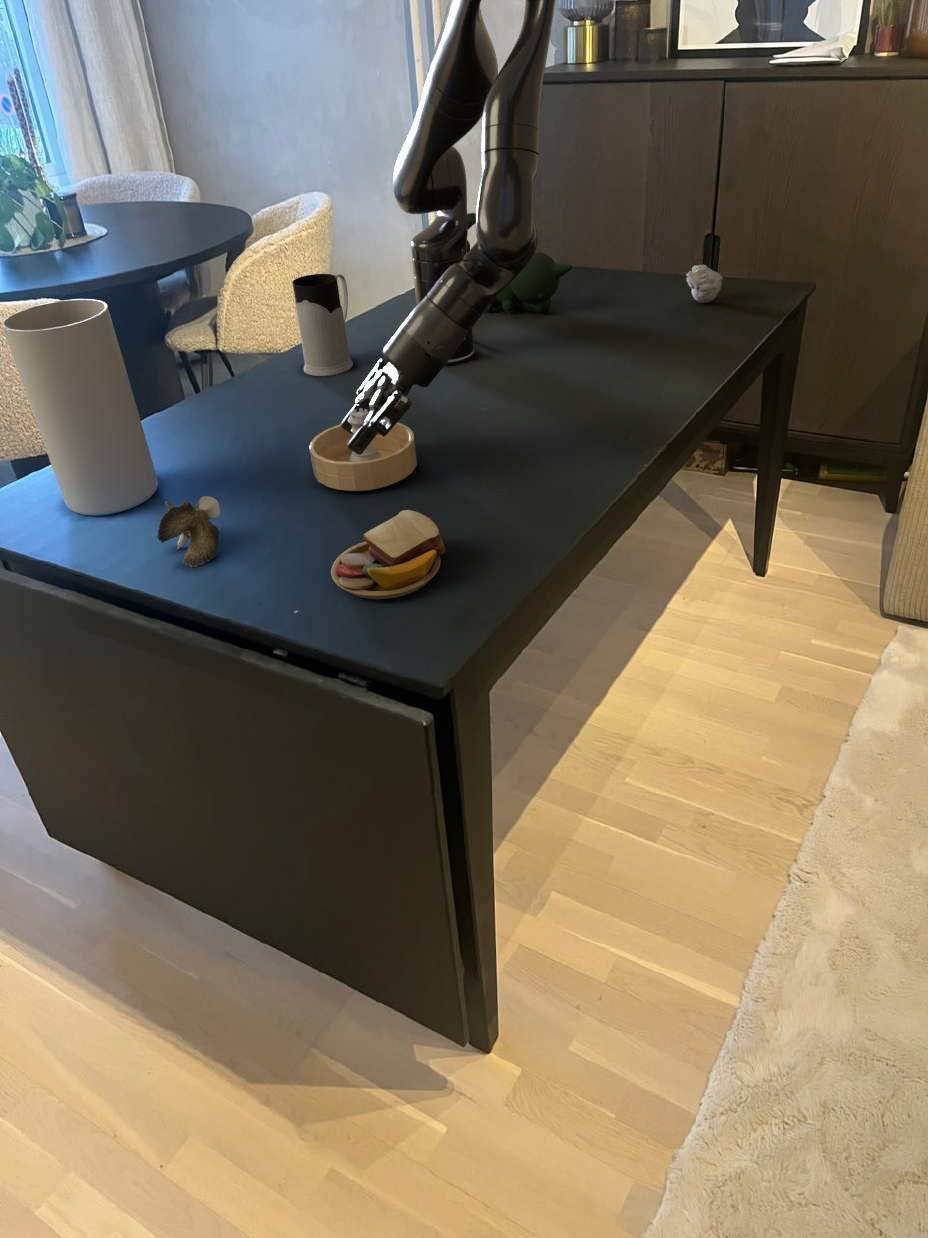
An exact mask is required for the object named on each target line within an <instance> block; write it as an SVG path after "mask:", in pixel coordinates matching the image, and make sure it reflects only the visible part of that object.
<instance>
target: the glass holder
mask: <svg viewBox="0 0 928 1238" xmlns="http://www.w3.org/2000/svg"><path fill="white" fill-rule="evenodd" d="M338 279H340V280H341V285H342V293H343V306H342V304H341V297H340V296H341V295H340V290H339V284H338ZM291 285H292V290H293V296H294V301H295V313H296V319H297V325H298V330H299V336H300V343H301V349H302V353H303V354H302V355H303V359H304V365H303V372H304V373H305V374H306V375H309V376H315V377H326V376H327V377H328V376H333V375H334V376H335V375H338V374H339V375H340V374H342V373H345V372H347V371H348V370H351V368H353V366H354V362H353V360H352V359H351V356H350V352H349V344H348V339H347V338H348V337H347V331H346V325H345V324H346V320H347V316H348V308H349V307H348V305H349V298H348V296H349V295H348V293H349V292H348V286H347V281H346V279H345V277H344V275H342V274H339V273H338V274H331V273H314V274H306V275H303V276H300V277H296V278H294V279H293V281H292V282H291Z"/></svg>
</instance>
